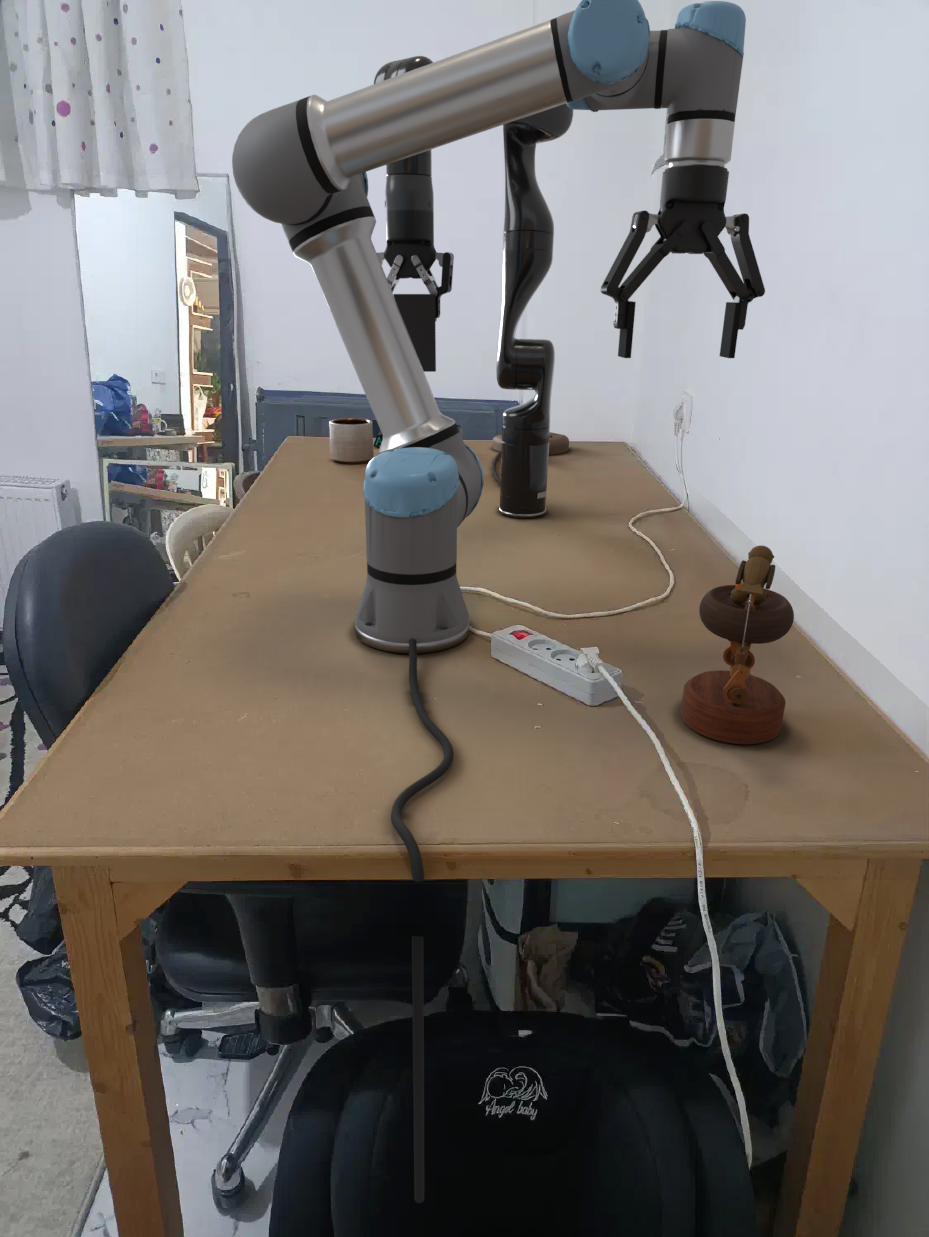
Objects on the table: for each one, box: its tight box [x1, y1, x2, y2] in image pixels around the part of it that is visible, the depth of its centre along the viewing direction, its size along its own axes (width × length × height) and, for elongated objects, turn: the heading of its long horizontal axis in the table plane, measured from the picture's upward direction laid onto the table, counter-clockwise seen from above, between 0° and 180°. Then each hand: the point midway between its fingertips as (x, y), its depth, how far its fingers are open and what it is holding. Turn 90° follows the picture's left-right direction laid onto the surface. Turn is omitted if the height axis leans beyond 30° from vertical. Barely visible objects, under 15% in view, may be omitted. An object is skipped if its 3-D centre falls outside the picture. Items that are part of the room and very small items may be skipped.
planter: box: [328, 417, 375, 464], centre depth 212 cm, size 11×11×10 cm
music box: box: [680, 545, 795, 745], centre depth 89 cm, size 15×11×20 cm
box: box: [393, 293, 437, 373], centre depth 131 cm, size 23×6×10 cm, turn 5°
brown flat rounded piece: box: [491, 431, 570, 456], centre depth 224 cm, size 21×28×4 cm
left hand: (676, 357), depth 106 cm, fingers open, 13 cm apart
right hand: (411, 321), depth 139 cm, fingers closed on box, 6 cm apart
